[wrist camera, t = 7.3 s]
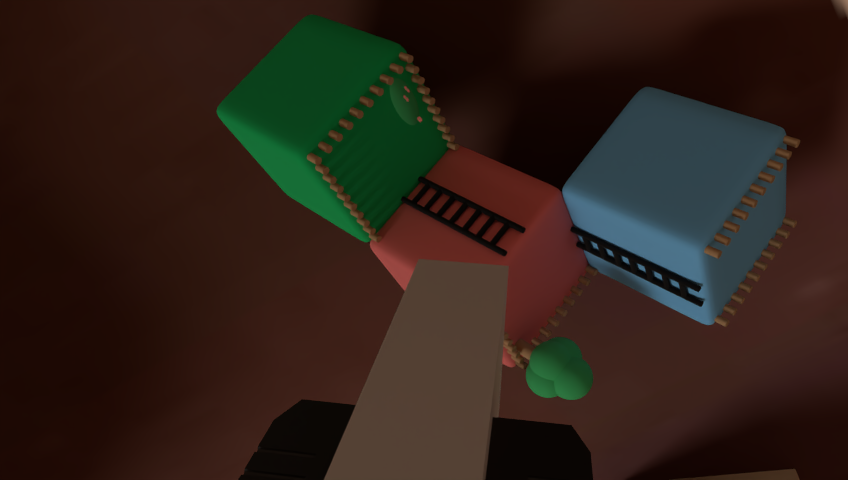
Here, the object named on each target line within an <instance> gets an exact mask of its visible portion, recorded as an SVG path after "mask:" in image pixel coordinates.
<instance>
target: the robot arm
mask: <svg viewBox="0 0 848 480" xmlns="http://www.w3.org/2000/svg"><path fill="white" fill-rule="evenodd" d="M508 269H509V266H504V265H491V264H478V263H465V262H452V261H440V260H427V259H419V260H418V262H417V264H416V267H415V269H414V271H413V274H412V276H411V278H410V281H409V283H408V285H407V288H406V290H405V292H404V295H403V297H402V299H401V301H400V304H399V306H398V308H397V311H396V313H395V315H394V318H393V320H392V322H391V325H390V327H389V329H388V332H387V334H386V336H385V339H384V341H383V343H382V346H381V348H380V350H379V353H378V355H377V357H376V360H375V362H374V364H373V367H372V369H371V371H370V374H369V376H368V378H367V381H366V383H365V385H364V388H363V390H362V392H361V395H360V397H359V399H358V402H357V404H356V405H350V404H340V403H331V402H321V401H312V400H303V399H302V400H301V401H299V402H298V403H297V404H295V405H294V406H292V407H291V408H290V409H288V410H287V411H286V412H284V413H283V414H282V415H280V416H279V417H277V418H276V419H275V420H274V421H273V422H272V424H271V426H270V427H269V429H268V431H267V432H266V434H265V436H264V437H263V439H262V441H261V442H260V444H259V446H258V451H257V452H255V453H254V454H253V456H252V458H251V459H250V461H249V463H248V464H247V466H246V468H245V472H244V475H241V476H240V478H239V479H238V480H593V474H592V463H591V452H590V451H589V450H588V448H587V447H586V445H585V444H584V442H583V441H582V440H581V438H580V437H579V435H578V434H577V432H576V431H575V430H574V428H573V427H572V425H564V424H554V423H545V422H535V421H526V420H517V419H507V418H498V415H499V404H500V389H501V374H502V359H503V344H504V329H505V314H506V299H507V284H508Z"/></svg>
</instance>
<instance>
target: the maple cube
mask: <svg viewBox="0 0 848 480" xmlns="http://www.w3.org/2000/svg"><path fill="white" fill-rule="evenodd" d="M671 480H800V479H799V476H798V474H797V472H796V470H795V469H786V470H775V471H763V472H752V473H740V474H729V475H717V476H706V477H694V478H682V479H671Z"/></svg>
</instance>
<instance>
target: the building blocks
mask: <svg viewBox="0 0 848 480" xmlns="http://www.w3.org/2000/svg"><path fill="white" fill-rule="evenodd" d="M412 61H413V56H412V55H409V54H407V52H406V50H405V49H404V48H403V47H402V46H401V45H400V44H398V43H395V42H393V41H390V40H387V39H384V38H381V37H378V36H375V35H373V34H370V33H367V32H364V31H361V30H358V29H355V28H352V27H349V26H347V25H344V24H341V23H338V22H335V21H332V20H329V19H326V18H323V17H320V16H317V15H308V16H306V17H304V18H303V19H302V20H301V21H299V22H298V23H297V24H296V25H295V26H294V27H293V28H292V29H291V30H290V31H289V33H288V34H287V35H286V36H285V37H284V38H283V39H282V40H281V41H280V42H279V43H278V44H277V45H276V46H275V47H274V48H273V49H272V50H271V51H270V52H269V53H268V54H267V55H266V56H265V57H264V58H263V59H262V60H261V61H260V62H259V64H258V65H257V66H256V67H255V68H254V69H253V70H252V71H251V72H250V73H249V74H248V75H247V76H246V77H245V78H244V79H243V80H242V81H241V82H240V83H239V84H238V85H237V86H236V87H235V88H234V89H233V90H232V91H231V92H230V94H229V95H228V96H227V97H226V98H225V99H224V100H223V101H222V102H221V103H220V105H219V106H218V108H217V115H218V116H219V118H220V119H221V120H222V122H223V123H224V124H225V125H226V126H227V127H228V129H229V130H230V131H231V132H232V133H233V134H234V135H235V137H236V138H237V139H238V140H239V141H240V142H241V143H242V145H243V146H244V147H245V148H246V149H247V150H248V151H249V153H250V154H251V155H252V156H253V157H254V158H255V159H256V161H257V162H258V163H259V164H260V165H261V166H262V167H263V168H264V170H265V171H266V172H267V173H268V174H269V175H270V176H271V178H272V179H273V180H274V181H275V182H276V183H277V184H278V186H279V187H280V188H281V189H282V190H283V191H284V192H285V193H286V194H287V195H288V196H290V197H291V198H293V199H294V200H296V201H298V202H299V203H301V204H302V205H304V206H306V207H307V208H309V209H311V210H312V211H314V212H315V213H317V214H319V215H320V216H322V217H324V218H325V219H327V220H328V221H330V222H332V223H333V224H335V225H336V226H338V227H340V228H341V229H343V230H345V231H346V232H348V233H349V234H351V235H353V236H354V237H356V238H358V239H359V240H361V241H364V242H369V241H370V247H371V249H372V251H373V252H374V253H375V255H376V256H377V257H378V258H379V260H380V261H381V262H382V263H383V265H384V266H385V267H386V268H387V270H388V271H389V272H390V273H391V275H392V276H393V277H394V278H395V280H396V281H397V282H398V283H399V284H400V286H401V287H402V288H403V289H404V291H405V290H406V288H407V285H408V283H409V281H410V278H411V276H412V274H413V271H414V269H415V267H416V264H417V262H418V260H419V259H427V260H440V261H452V262H465V263H478V264H491V265H504V266H509V269H508V284H507V299H506V314H505V329H504V344H503V359H502V363H503V364H504V365H506V366H508V367H514V366H515V365H518V366H519V367H521V368H522V369H526V368H527V370H526V380H527V383H528V385H529V387H530V389H531V390H532V391H533V392H534V393H535V394H537V395H539V396H542V397H545V398H551V397H555V396H560V397H562V398H564V399H568V400H576V399H579V398H581V397H583V396H585V395H586V394H587V393H588V392H589V390H590V389H591V386H592V383H593V374H592V370H591V368H590V366H589V365H588V364H587V363H586V361H584V360H583V359H582V354H581V351H580V349H579V347H578V346H577V345H576V344H575V343H574V342H573V341H572V340H570V339H567V338H564V337H555V338H552V339H550V340H548V341H546V342H542V341H541V340H539V339H537V338H538V336H539V335H540V334H543V335H545V336H546V337H550V336H551V334H552V332H551V331H550V330H548V329H546V328H545V327H546V326H547V324H548V323H550V324H552V325H553V326H555V327H557V326H558V325H559V321H558V320H556V319H555V318H553V317H554V315H555V314H556V313H558V314H560V315H562V316H566V314H567V310H565V309H563V308H561V306H562V305H563V303H564V302H565V303H567V304H569V305H570V306H573V305H574V303H575V300H573V299H571V298H570V297H569V295H570V294H571V293H572V292H573V293H575V294H577V295H578V296H580V295H581V294H582V292H583V290H581V289H580V288H578V287H576V286H577V285H578V283H579V282H581V283H583V284H585V285H586V286H588V285H589V284H590V280H589V279H587V278H585V277H584V275H585V273H586V272H588V273H590V274H592V275H594V276H595V275H596V274H597V273H598V271H599V272H601V273H603V274H605V275H607V276H609V277H610V278H612V279H614V280H616V281H618V282H620V283H622V284H624V285H626V286H628V287H630V288H632V289H634V290H636V291H638V292H640V293H642V294H644V295H646V296H648V297H650V298H652V299H654V300H656V301H658V302H660V303H662V304H664V305H666V306H668V307H670V308H672V309H674V310H676V311H678V312H680V313H682V314H684V315H686V316H688V317H690V318H692V319H694V320H696V321H698V322H701V323H703V324H706V325H711V324H713V323H714V322H717V323H719V324H721V325H723V326H725V327H727V326H728V324H729V320H728V319H726V318H723V317H721V316H720V315H721V314H722V312H723V311H725V312H728V313H730V314H732V315H735V314H736V312H737V309H736V308H734V307H732V306H730V305H728V303H729V302H730V301H731V300H734V301H736V302H738V303H740V304H742V303H743V302H744V300H745V298H744V297H742V296H740V295H738V294H736V292H737V290H738V289H742V290H744V291H746V292H748V293H750V292H751V290H752V288H753V286H750V285H748V284H746V283H744V280H745V279H746V277H747V278H749V279H751V280H754V281H756V282H757V281H758V280H759V278H760V275H758V274H756V273H753V272H751V270H752V269H753V267H757V268H759V269H761V270H764V271H765V270H766V268H767V266H768V264H766V263H763V262H761V261H758V260H759V258H760V257H761V256H764V257H766V258H768V259H771V260H772V259H773V258H774V256H775V253H773V252H770V251H768V250H766V248H767V247H768V245H770V246H773V247H775V248H778V249H780V248H781V246H782V244H783V243H782V242H780V241H777V240H775V239H773V238H774V237H775V235H776V234H777V235H779V236H782V237H784V238H788V236H789V234H790V232H789V231H786V230H784V229H781V226H782V224H785V225H788V226H790V227H793V228H794V227H795V226H796V224H797V221H795V220H792V219H790V218H787V217H785V212H786V159H790V157H791V155H792V152H791V151H788V150H787V145H790V146H793V147H796V148H797V147H798V146H799V144H800V140H799V139H796V138H793V137H789V136H787V135H786V132H785V130H784V129H783V128H782V127H780V126H777V125H774V124H772V123H768V122H765V121H762V120H759V119H755V118H752V117H749V116H745V115H742V114H739V113H736V112H732V111H729V110H726V109H722V108H719V107H716V106H713V105H709V104H706V103H703V102H699V101H696V100H693V99H690V98H686V97H683V96H680V95H677V94H673V93H670V92H667V91H663V90H660V89H656V88H652V87H644V88H642V89H641V90H639V91H638V92H637V93H636V94H635V96H634V97H633V98H632V99H631V100H630V102H629V103H628V104H627V105H626V107H625V108H624V109H623V110H622V112H621V113H620V114H619V116H618V117H617V118H616V119H615V121H614V122H613V123H612V124H611V126H610V127H609V128H608V129H607V131H606V132H605V133H604V134H603V136H602V137H601V138H600V140H599V141H598V142H597V143H596V145H595V146H594V147H593V148H592V150H591V151H590V152H589V153H588V155H587V156H586V157H585V158H584V160H583V161H582V162H581V164H580V165H579V166H578V167H577V169H576V170H575V171H574V172H573V174H572V175H571V176H570V177H569V179H568V180H567V182H566V183H565V185H564V187H563V189H562V192H561V191H560V190H559V189H558V188H556V187H554V186H552V185H550V184H548V183H546V182H543V181H541V180H539V179H536V178H534V177H532V176H530V175H527V174H525V173H523V172H520V171H518V170H516V169H514V168H511V167H509V166H507V165H504V164H502V163H500V162H498V161H495V160H493V159H491V158H488V157H486V156H484V155H482V154H479V153H477V152H475V151H472V150H470V149H468V148H465V147H463V146H460V145H459V144H456V143H454V142H453V141H454V139H455V136H453V135H451V134H450V133H449V131H450V127H449V126H446V125H445V123H444V122H445V118H444V117H442V116H440V114H439V113H440V108H438V107H436V106H435V104H434V103H435V98H433V97H430V95H429V93H430V88H428V87H425V85H424V84H423V83H424V81H425V79H424V78H423V77H421V76H419V74H418V72H419V67H417V66H414V65H413V63H412ZM589 265H590V266H589ZM532 344H534V345H536V347H534V346H533V345H532ZM523 356H524V357H525V358H527V359H529V360H530V363H529V365H528V364H527V363H526V362H524V358H523ZM527 366H528V367H527Z"/></svg>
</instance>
